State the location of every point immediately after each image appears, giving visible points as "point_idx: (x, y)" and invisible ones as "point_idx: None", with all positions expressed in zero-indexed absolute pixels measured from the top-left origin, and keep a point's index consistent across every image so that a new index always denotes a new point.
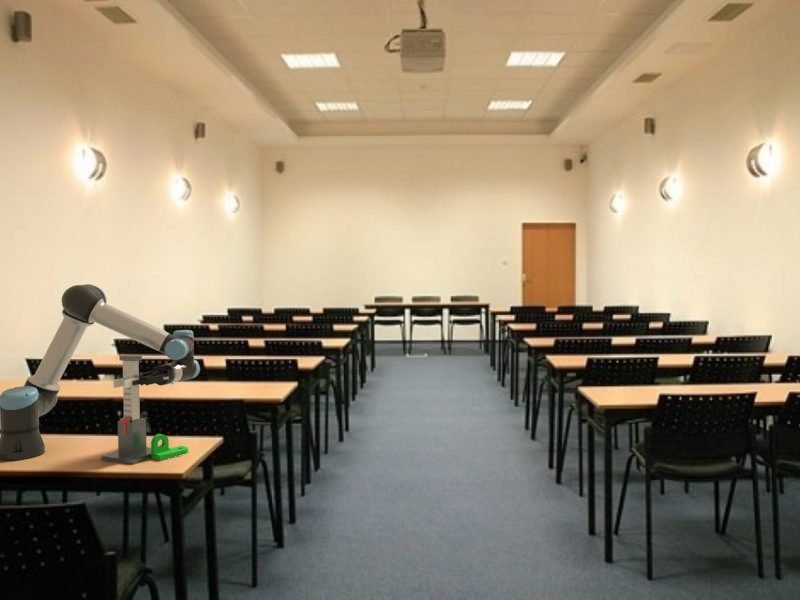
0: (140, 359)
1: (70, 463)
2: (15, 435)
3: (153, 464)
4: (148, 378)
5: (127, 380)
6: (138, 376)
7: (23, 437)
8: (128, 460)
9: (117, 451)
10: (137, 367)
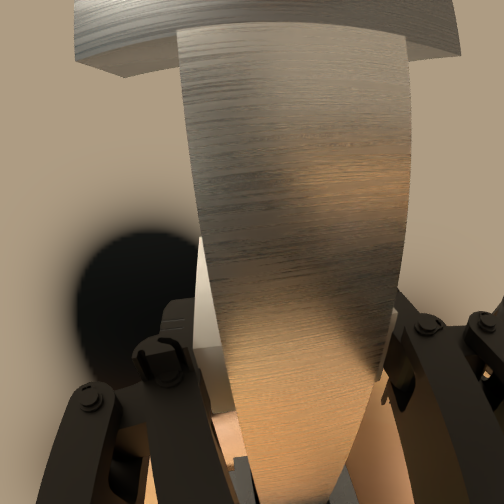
0: (87, 51)
1: (378, 400)
2: (501, 302)
3: (155, 494)
4: (71, 401)
5: (198, 252)
6: (224, 352)
7: (500, 316)
8: (230, 472)
9: (349, 501)
10: (197, 192)
